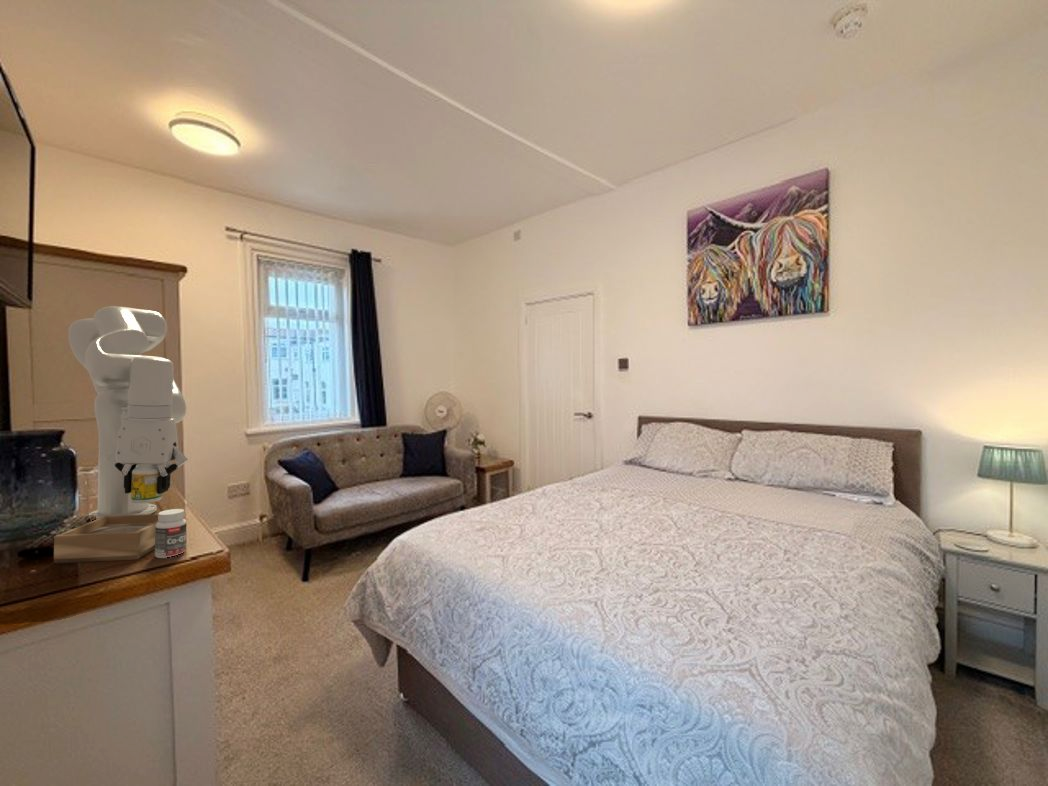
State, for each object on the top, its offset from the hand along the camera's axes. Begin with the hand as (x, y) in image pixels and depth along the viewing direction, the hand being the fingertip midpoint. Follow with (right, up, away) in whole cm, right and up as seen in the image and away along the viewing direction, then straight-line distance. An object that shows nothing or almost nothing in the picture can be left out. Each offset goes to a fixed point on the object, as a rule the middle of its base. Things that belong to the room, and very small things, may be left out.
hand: (147, 491), depth 98 cm
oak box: (+4, -9, -11) cm, 15 cm away
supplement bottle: (0, -2, 0) cm, 2 cm away
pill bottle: (+16, -10, -13) cm, 23 cm away
